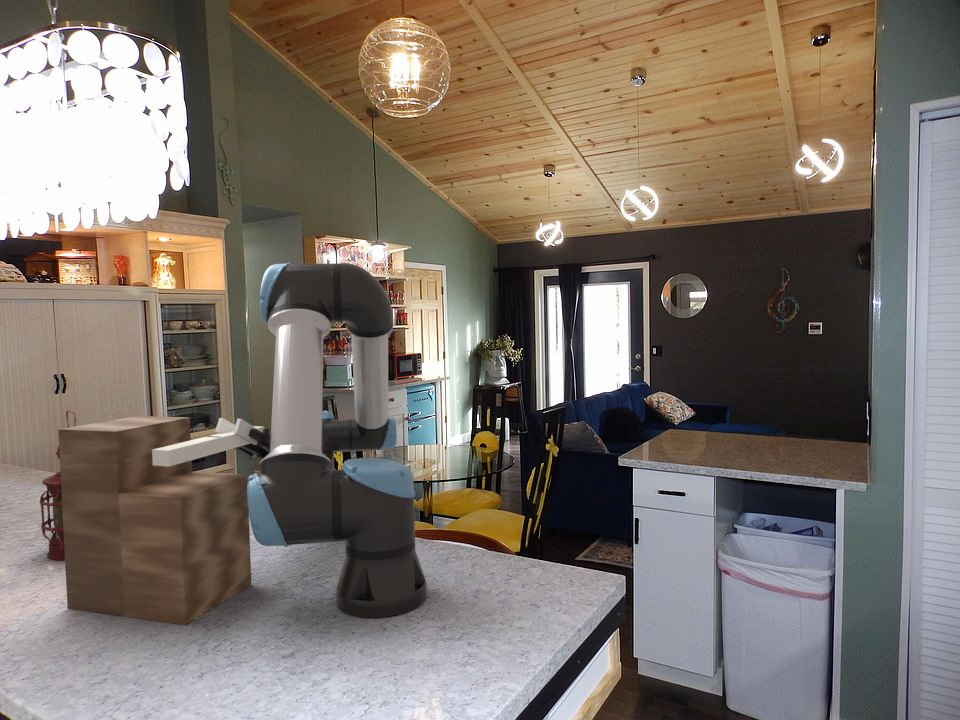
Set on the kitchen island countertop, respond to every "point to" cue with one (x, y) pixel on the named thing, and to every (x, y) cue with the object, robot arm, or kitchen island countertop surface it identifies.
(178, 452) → the domino bar
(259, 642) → the kitchen island countertop surface
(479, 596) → the kitchen island countertop surface
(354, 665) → the kitchen island countertop surface
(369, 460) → the robot arm
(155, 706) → the kitchen island countertop surface
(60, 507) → the lantern
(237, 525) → the two tier stand
